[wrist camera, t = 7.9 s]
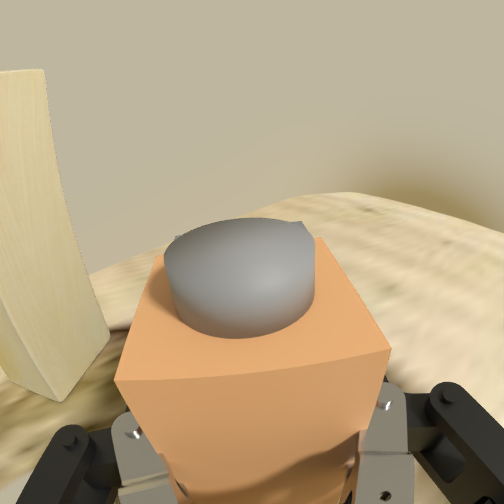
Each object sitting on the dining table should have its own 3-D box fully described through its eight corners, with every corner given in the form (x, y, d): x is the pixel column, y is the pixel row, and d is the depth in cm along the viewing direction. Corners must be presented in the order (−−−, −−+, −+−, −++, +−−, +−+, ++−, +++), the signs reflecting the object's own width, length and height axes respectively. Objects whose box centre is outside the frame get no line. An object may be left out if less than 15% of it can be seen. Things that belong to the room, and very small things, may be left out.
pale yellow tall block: (55, 324, 26) (-9, 98, 16) (114, 335, 24) (47, 66, 15) (6, 379, 19) (-89, 120, 9) (62, 405, 17) (-53, 77, 8)
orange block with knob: (333, 510, 10) (404, 293, 5) (212, 525, 9) (89, 329, 4) (311, 424, 14) (320, 199, 9) (210, 435, 14) (149, 218, 9)
